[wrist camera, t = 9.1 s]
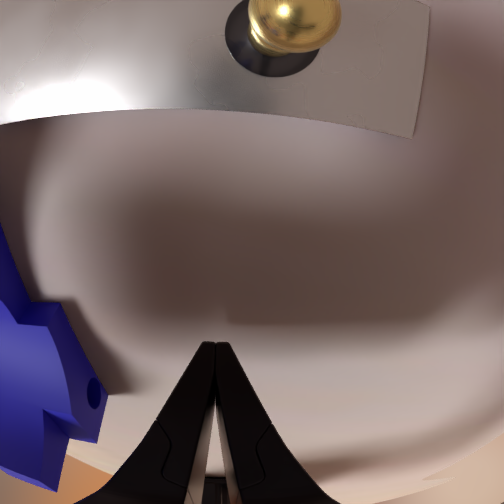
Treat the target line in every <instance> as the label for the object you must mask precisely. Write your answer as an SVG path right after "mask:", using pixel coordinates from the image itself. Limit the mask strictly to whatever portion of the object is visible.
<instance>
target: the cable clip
mask: <svg viewBox="0 0 504 504" xmlns="http://www.w3.org/2000/svg"><path fill="white" fill-rule="evenodd" d="M107 398H108V394H107V392H106V391H105V389H104V387H103V386H102V384H101V382H100V381H99V379H98V377H97V375H96V374H95V372H94V370H93V368H92V366H91V365H90V363H89V361H88V359H87V357H86V355H85V353H84V351H83V350H82V348H81V346H80V344H79V342H78V340H77V338H76V336H75V334H74V332H73V329H72V327H71V325H70V323H69V321H68V319H67V317H66V314H65V312H64V310H63V308H62V305H61V303H54V302H31V300H30V298H29V296H28V293H27V291H26V289H25V287H24V284H23V282H22V280H21V277H20V275H19V272H18V270H17V268H16V265H15V262H14V260H13V257H12V255H11V252H10V249H9V247H8V244H7V241H6V238H5V235H4V232H3V229H2V226H1V223H0V469H1V470H3V471H4V472H5V473H7V474H8V475H11V476H13V477H15V478H18V479H20V480H23V481H25V482H28V483H31V484H33V485H36V486H39V487H42V488H45V489H48V490H51V491H54V492H57V490H58V485H59V480H60V475H61V471H62V467H63V462H64V458H65V454H66V450H67V446H68V442H69V438H71V439H75V440H80V441H86V442H91V443H97V441H98V436H99V432H100V427H101V423H102V419H103V415H104V410H105V406H106V402H107Z"/></svg>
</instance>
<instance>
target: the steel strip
mask: <svg viewBox="0 0 504 504" xmlns="http://www.w3.org/2000/svg"><path fill="white" fill-rule="evenodd" d="M429 14H430V7H429V6H427V5H424V4H422V3H420V2H418V1H415V0H0V124H5V123H11V122H16V121H22V120H28V119H34V118H41V117H48V116H56V115H64V114H73V113H84V112H96V111H110V110H130V109H204V110H225V111H240V112H252V113H263V114H273V115H282V116H290V117H298V118H305V119H312V120H319V121H325V122H331V123H337V124H343V125H348V126H354V127H359V128H364V129H369V130H374V131H378V132H383V133H387V134H391V135H396V136H400V137H404V138H408V139H412V137H413V132H414V127H415V122H416V117H417V111H418V106H419V100H420V94H421V88H422V81H423V74H424V66H425V58H426V49H427V39H428V28H429Z"/></svg>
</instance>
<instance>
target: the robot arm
mask: <svg viewBox="0 0 504 504" xmlns="http://www.w3.org/2000/svg"><path fill="white" fill-rule="evenodd" d="M215 404H216V414H217V422H218V429H219V436H220V443H221V449H222V456H223V462H224V469H225V475H226V479H208V478H205V472H206V465H207V458H208V451H209V444H210V437H211V430H212V423H213V416H214V409H215ZM74 504H340V503H339V502H337V501H335V500H334V499H332V498H331V497H330V496H328V495H327V494H326V493H325V492H324V491H323V490H322V489H321V488H320V487H319V486H318V485H317V484H316V483H315V481H314V480H313V479H312V478H311V477H310V476H309V474H308V473H307V472H306V471H305V469H304V468H303V467H302V466H301V465H300V463H299V462H298V461H297V460H296V458H295V457H294V456H293V454H292V453H291V452H290V450H289V449H288V448H287V446H286V445H285V443H284V442H283V440H282V439H281V437H280V435H279V434H278V432H277V430H276V428H275V427H274V425H273V424H272V422H271V420H270V418H269V416H268V414H267V413H266V411H265V409H264V407H263V405H262V404H261V402H260V400H259V398H258V396H257V394H256V393H255V391H254V389H253V387H252V385H251V383H250V381H249V380H248V378H247V376H246V374H245V372H244V370H243V368H242V366H241V364H240V362H239V360H238V359H237V357H236V355H235V353H234V351H233V349H232V347H231V345H230V343H228V342H217V343H215V342H210V341H204V342H202V343H201V345H200V347H199V348H198V350H197V352H196V353H195V355H194V357H193V358H192V360H191V362H190V363H189V365H188V366H187V368H186V370H185V371H184V373H183V375H182V376H181V378H180V380H179V381H178V383H177V385H176V386H175V388H174V390H173V391H172V393H171V395H170V396H169V398H168V400H167V401H166V403H165V405H164V406H163V408H162V410H161V411H160V413H159V415H158V416H157V418H156V420H155V421H154V423H153V424H152V426H151V427H150V429H149V431H148V432H147V434H146V435H145V437H144V438H143V440H142V441H141V443H140V444H139V445H138V446H137V448H136V449H135V450H134V452H133V453H132V454H131V455H130V457H129V458H128V459H127V460H126V461H125V462H124V464H123V465H122V466H121V467H120V468H119V470H118V471H117V472H116V473H115V474H114V475H113V477H112V478H111V479H110V480H109V481H108V482H107V483H106V484H105V485H104V486H103V487H102V488H101V489H99V490H98V491H96V492H95V493H93V494H91V495H89V496H87V497H86V498H84V499H82V500H80V501H78V502H76V503H74ZM501 504H504V502H503V503H501Z"/></svg>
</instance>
